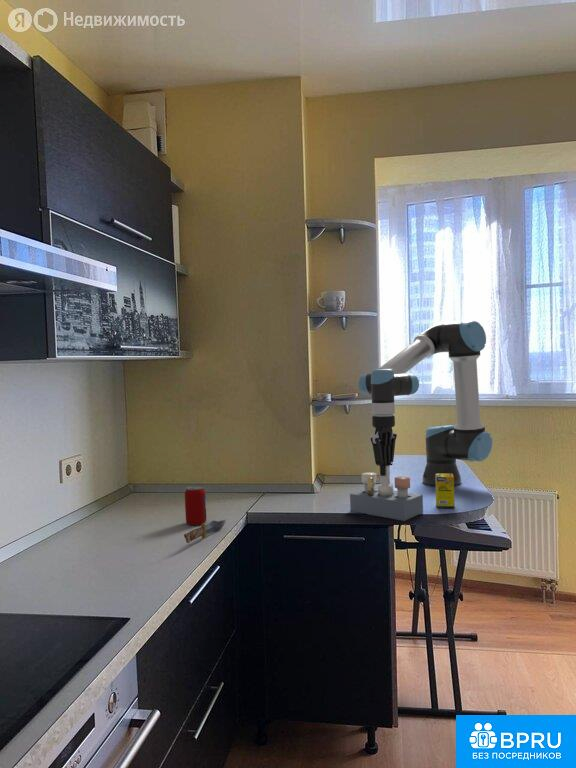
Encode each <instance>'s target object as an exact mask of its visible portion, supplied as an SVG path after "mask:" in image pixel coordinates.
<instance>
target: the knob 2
mask: <svg viewBox="0 0 576 768" xmlns="http://www.w3.org/2000/svg"><path fill="white" fill-rule="evenodd" d="M377 488H378V495H381V496H391V495H393V490H394V485H393V484H391V483H390V485H388V486H386V485H381V483H380V484H378V485H377Z"/></svg>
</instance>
